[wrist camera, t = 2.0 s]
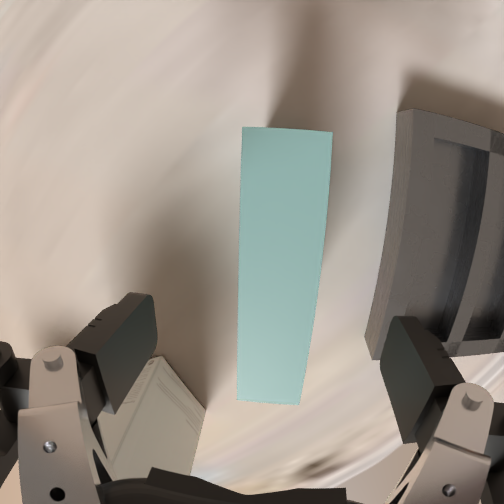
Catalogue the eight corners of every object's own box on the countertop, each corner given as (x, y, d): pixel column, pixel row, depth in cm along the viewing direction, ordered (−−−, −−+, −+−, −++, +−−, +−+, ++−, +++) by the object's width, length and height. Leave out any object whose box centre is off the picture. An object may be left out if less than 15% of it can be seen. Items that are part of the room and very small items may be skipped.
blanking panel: (263, 135, 19) (242, 126, 10) (310, 138, 19) (332, 132, 10) (257, 302, 23) (237, 400, 14) (297, 305, 23) (299, 404, 14)
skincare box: (120, 364, 27) (45, 479, 13) (166, 352, 26) (93, 490, 12) (166, 420, 29) (120, 532, 16) (212, 413, 28) (175, 542, 14)
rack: (396, 112, 17) (413, 108, 15) (567, 166, 16) (588, 171, 13) (364, 337, 23) (371, 360, 20) (528, 330, 21) (542, 345, 19)
